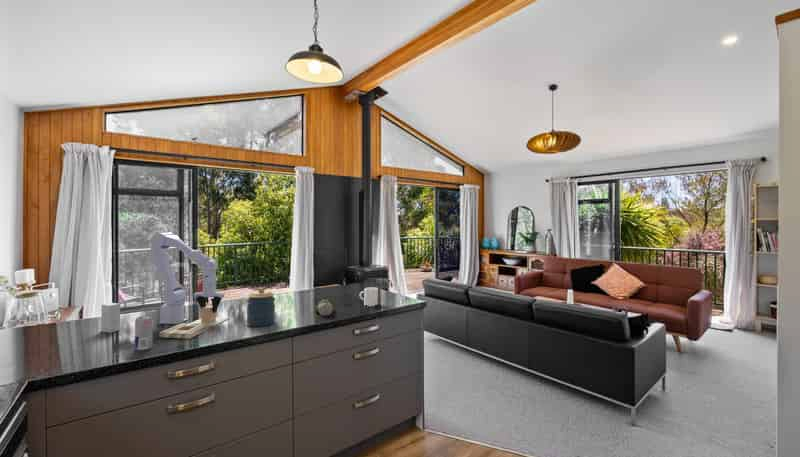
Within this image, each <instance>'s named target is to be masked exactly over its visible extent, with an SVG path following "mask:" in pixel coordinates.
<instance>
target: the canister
mask: <svg viewBox="0 0 800 457" xmlns="http://www.w3.org/2000/svg"><path fill="white" fill-rule="evenodd" d="M248 297H249V298H248V299H246V302H247V306H246V325H247V327H250V328H262V327H269V326H272V325H274V324H275V322H276V304H275V301H276V297H275V296H274V292H272V291H270V290H265V288H264V287H259V288H258V289H257V290H255V291H252V292H251V293H249V294H248Z"/></svg>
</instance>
